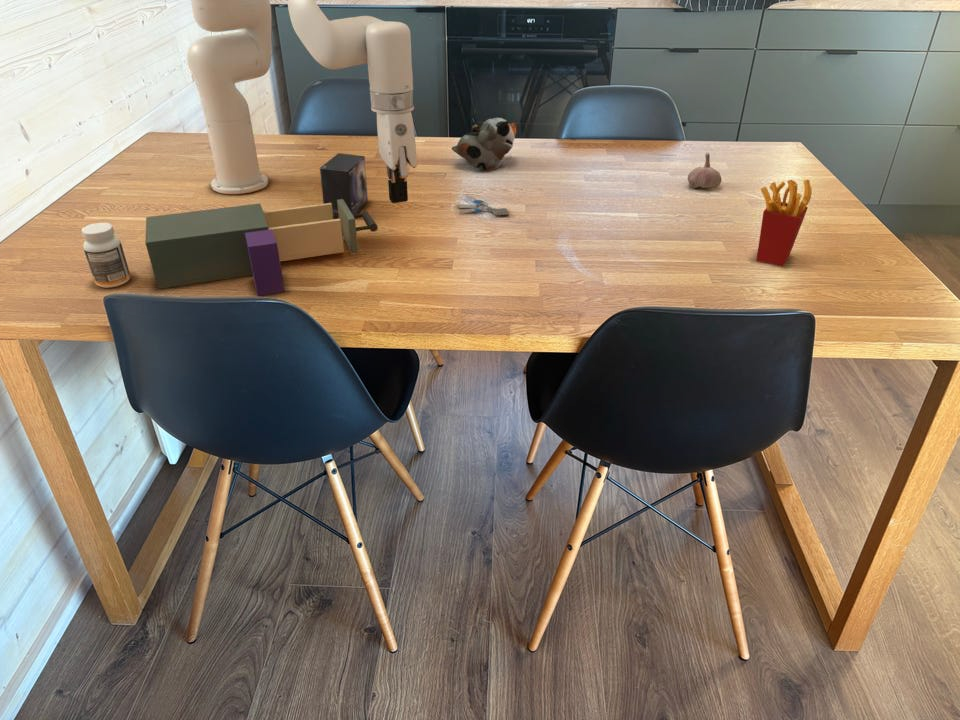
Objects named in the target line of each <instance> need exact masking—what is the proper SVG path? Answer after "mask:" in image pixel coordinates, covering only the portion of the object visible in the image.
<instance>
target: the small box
mask: <svg viewBox="0 0 960 720" xmlns="http://www.w3.org/2000/svg"><path fill="white" fill-rule="evenodd" d="M319 175H320V176H319V177H320V184H321V193H322V202H323V203H322V204H326V203H331V204H332V211H333V218H335V219H339V213H338V204H337V200H340V199H343V200H344V201H345V203H346V205H347V206H348V208H349V210H350V211H351V213H352V215H357V214H359V212H360V211H361V210H362V209H363V208H364V207H365V206H366V204H368V203H369V199H368V198H369V197H368V187H367V186H368V185H367V183H368V182H367V170H366V157H365V155H359V154H349V153H341V152H338V153H337V154H335V155H334V156H333V157H332V158H330V159H329V160H328V161H327V162H325V163H324V164H323V165H322V166H320V167H319Z"/></svg>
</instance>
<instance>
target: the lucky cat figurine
mask: <svg viewBox="0 0 960 720" xmlns="http://www.w3.org/2000/svg"><path fill="white" fill-rule="evenodd" d="M509 122H510V121H509V120H507V119H504V118H502V117H494V118H489V119H487V120H485V121H484V122H482V124H481V126H480V127H479V126H478V125H477V124H476V123H475V124H473V125H472V127H471V131H470V132H469V133H466V134H464V135H463V136H461V137H460V139H458V140H459V141H457V144H456V145H455V146H454V145H453V146H452V147H451V150H452V151H453V152H454V153H455V154H457V155H458V156H460V157H461V158H463V160H465V161H466V162H467V163H468V164H469V165H472V166H473V167H476V168H482V170H483V171H485V172H487V171H491V170H495V169H497V168H500V167H501V166H502V164H503V159H504V157H505V156H506V155H507V154H508V153H509V152H510V151H511V150H512V148H513V147H514V146H513V145H514V142H515V138H516V135H517V122H512V123H509Z"/></svg>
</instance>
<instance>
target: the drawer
mask: <svg viewBox="0 0 960 720" xmlns="http://www.w3.org/2000/svg"><path fill="white" fill-rule="evenodd" d="M337 204H338V213H339V218H334V217H333V211H332V204H331V203H326V204H323V203H319V204H309V205H303V206H297V207H295V206H294V207H287V208H279V209H278V208H277V209H271V210H270V209H269V210H263V213H264V216H265V219H266V222H267V225H268V229H269V230H270V229H272V230H273V233H274V236H275V239H276V242H277V246H278V252H279V259H280V262H287V261H293V260H294V261H295V260H301V259H306V258H314V257H320V256H327V255H333V254H334V255H335V254H340V253H344V252H345V249H344V248H345V247H344V241H345V243H346V246H347V247H348V249H349V252H350V253H351V255H356V254H358V253H359V245H358V235H357V232H360V231H367V230H369V231H370V232H372V233H373V232H374V233H375V232H376V231H378V229H379V226H378V224H377V223H376V222H375V220H374V218H373V216H372V215H371V214H370V212H369V211H368V210H363V211H362V210H361V213H357V214H356V215H352V213H351V211H350V210H349V208H348V206H347V205H346V203H345V201H344V200H343V199H340V200H337ZM356 219H362V220H363V221H364V223H365V225H362V226H357V223H356Z"/></svg>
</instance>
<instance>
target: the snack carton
mask: <svg viewBox="0 0 960 720" xmlns="http://www.w3.org/2000/svg"><path fill="white" fill-rule="evenodd" d="M245 237H246V242H247V247H248V252H249V258H250V263H251V268H252V273H253V275H252V278H253V283H254V287H255V291H256V295H257V297H261V296H267V295H273V294H280V293H285V292H286V290H285V283H284V277H283V272H282V265H281V261H280V259H279V252H278V246H277V242H276V239H275V236H274V233H273V230H272V229H270V230H263V231H255V232H248V233H245Z"/></svg>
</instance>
